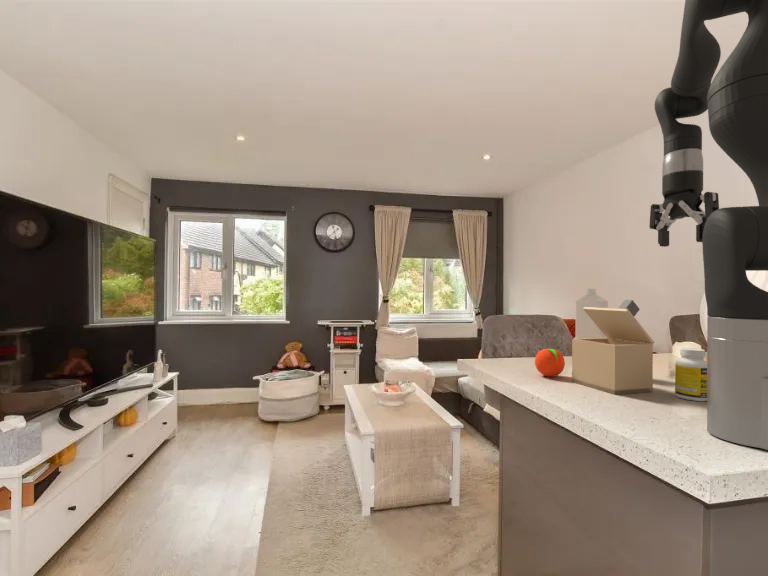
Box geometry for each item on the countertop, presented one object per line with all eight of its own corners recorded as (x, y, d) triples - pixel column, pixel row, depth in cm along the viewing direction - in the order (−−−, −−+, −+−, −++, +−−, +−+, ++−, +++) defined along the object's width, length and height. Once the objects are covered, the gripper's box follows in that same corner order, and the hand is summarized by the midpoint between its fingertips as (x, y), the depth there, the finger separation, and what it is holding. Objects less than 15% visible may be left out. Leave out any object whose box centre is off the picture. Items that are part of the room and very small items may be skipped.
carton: (652, 391, 85) (652, 344, 85) (614, 394, 82) (614, 345, 82) (606, 379, 96) (606, 338, 97) (572, 381, 94) (572, 338, 94)
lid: (652, 344, 85) (669, 321, 86) (626, 311, 83) (643, 288, 84) (606, 337, 97) (622, 318, 98) (582, 308, 95) (598, 289, 96)
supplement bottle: (705, 403, 76) (705, 351, 76) (671, 397, 80) (671, 348, 80) (712, 399, 80) (712, 349, 80) (679, 393, 84) (679, 346, 84)
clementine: (572, 380, 95) (572, 350, 95) (542, 380, 95) (542, 350, 95) (557, 373, 103) (557, 346, 103) (530, 373, 103) (530, 345, 103)
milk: (607, 372, 106) (608, 288, 106) (599, 375, 102) (600, 288, 102) (583, 368, 111) (584, 288, 111) (574, 371, 106) (575, 288, 107)
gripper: (728, 165, 86) (728, 241, 86) (665, 182, 100) (664, 248, 99) (702, 162, 84) (702, 239, 84) (641, 180, 97) (641, 246, 97)
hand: (681, 244), depth 91 cm, fingers open, 8 cm apart
